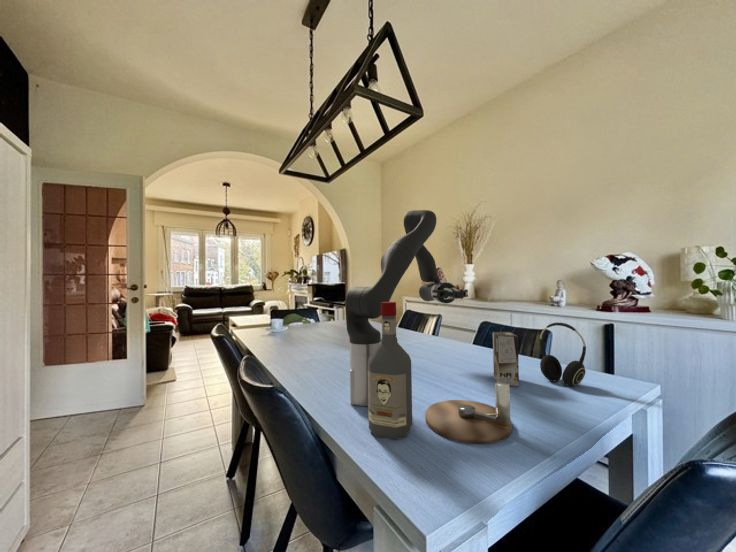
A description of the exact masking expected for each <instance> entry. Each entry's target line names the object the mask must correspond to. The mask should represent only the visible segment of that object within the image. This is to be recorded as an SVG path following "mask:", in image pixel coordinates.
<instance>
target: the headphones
mask: <svg viewBox="0 0 736 552" xmlns="http://www.w3.org/2000/svg"><path fill="white" fill-rule="evenodd" d="M555 326H561V327H565V328H568V329H570V330H572V331H573V332H575V333H576V334H577V335H578V336H579V338H580V339H581V342H582V345H583V346H582V350H581V351H582V352H581V354H580V358H579V360H572V361H571V362H569V363H568V364H567V365H566V366H565V368H564V370H563V367H562V364H561V363H560V361H559V359H558V358H557V357H555V355H552V354H547V353H546V349H545V346H544V342H543V338H542V336H543V334H544V333H545V331H546V330H547V329H548V328H551V327H555ZM539 346H540V352H541V355H542V358H541V360H540V363H539V368H540V371H541V374H542V375H543V376H544V378H545V379H547V380H548V381H550V382H558V381H559V380H562V382H563V384H564V385H566V386H567V387H574V386H578V385H580V383H582V381H583V380H584V378H585V376H586V367H585V365H584V361H585V357H586V354H587V353H586V351H587V345H586V342H585V340H584V338H583V337H582V335H581V334H580V333H579V332H578V330H577V329H576V328H575V327H573V326H572V325H570V324H568V323H565V322H553V323H549V324H548V325H547V326H546V327H545V328H543V330H542V331H541V333H540V336H539Z"/></svg>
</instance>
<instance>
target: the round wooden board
mask: <svg viewBox="0 0 736 552" xmlns="http://www.w3.org/2000/svg"><path fill="white" fill-rule="evenodd" d="M459 405H471V406H473V407H475V412H479V413H483V414H487V415H491V416H495V417H496V406H492V405H489V404H486V403H483V402H479V401H473V400H465V399H451V400H442V401H438V402H435V403H433V404H431V405H430V406H428V407H427V408H426V410H425V416H424V417H425V423H426V424H425V425H427V427H428V428H429V429H430V430H431V431H433V432H434V433H436V434H437V435H440V436H441V437H442V438H446V439H448V440H452V441H455V442H460V443H464V444H473V445H475V444H476V445H486V444H494V443H499V442H501V441H504V440H506V439H507V438H509V436H511V434H512V432H513V431H512V430H513V429H512V425H513V424H512V420H511V418H510V424H509V425H505V426H503V425H500V424H496V423H492V422H489V421H485V420H481V419H478V418H474V417H473V418H464V417H461V416H460V415H459V414H458V406H459Z"/></svg>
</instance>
